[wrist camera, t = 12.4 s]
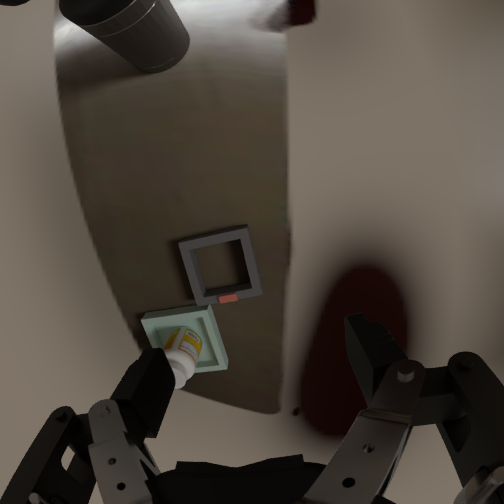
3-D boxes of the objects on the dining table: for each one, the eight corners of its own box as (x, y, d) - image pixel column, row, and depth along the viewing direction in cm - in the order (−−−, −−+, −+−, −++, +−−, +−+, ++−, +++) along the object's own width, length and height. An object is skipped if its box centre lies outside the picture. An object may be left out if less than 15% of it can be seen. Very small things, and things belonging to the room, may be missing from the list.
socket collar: (183, 238, 39) (177, 244, 36) (248, 224, 38) (247, 228, 36) (200, 299, 42) (196, 308, 39) (262, 287, 41) (262, 296, 38)
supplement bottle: (172, 351, 44) (155, 390, 34) (168, 324, 42) (148, 360, 33) (204, 354, 44) (192, 394, 34) (201, 326, 42) (188, 365, 33)
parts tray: (145, 312, 43) (140, 319, 40) (209, 302, 42) (207, 309, 39) (168, 366, 46) (165, 374, 43) (228, 360, 45) (227, 369, 42)
